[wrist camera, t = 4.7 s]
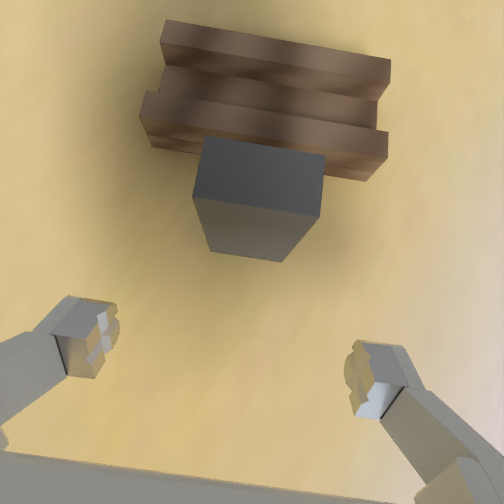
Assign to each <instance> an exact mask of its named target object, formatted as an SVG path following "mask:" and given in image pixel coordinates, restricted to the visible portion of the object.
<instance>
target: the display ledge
mask: <svg viewBox="0 0 504 504" xmlns="http://www.w3.org/2000/svg"><path fill="white" fill-rule="evenodd" d="M160 45H161V48H162V52H163V56H164V60H165V63H166V66H165V70H164V73H163V77H162V81H161V85H160V88H159V92H158V93H156V92H151V91H146V93H145V97H144V100H143V104H142V107H141V111H140V114H139V118H140V120H141V122H142V124H143V126H144V129H145V131H146V133H147V136H148V138H149V140H150V142H151V144H152V146H153V147H159V148H165V149H171V150H177V151H183V152H189V153H195V154H201V153H202V148H203V143H204V139H205V136H211V137H217V138H223V139H229V140H235V141H241V142H247V143H253V144H259V145H265V146H271V147H277V148H283V149H289V150H295V151H301V152H307V153H313V154H319V155H325V166H324V175H329V176H335V177H341V178H347V179H353V180H359V181H365V182H366V181H367V180H368V179H369V178H370V177H371V176H372V175H373V173H374V172H375V171H376V170H377V169H378V168H379V167H380V166H381V165H382V164H383V163H384V162H385V160H386V159H387V158H388V133H389V132H385V131H380V130H376V124H377V102H378V100H379V98H380V97H381V95H382V94H383V92H384V91H385V89H386V88H387V86H388V85H389V83H390V74H391V60H390V59H385V58H379V57H374V56H368V55H362V54H357V53H351V52H346V51H340V50H334V49H329V48H323V47H317V46H312V45H306V44H301V43H295V42H289V41H284V40H278V39H272V38H267V37H261V36H256V35H250V34H244V33H239V32H233V31H228V30H222V29H216V28H211V27H205V26H199V25H194V24H188V23H183V22H177V21H171V20H166V21H165V25H164V28H163V32H162V35H161V39H160Z"/></svg>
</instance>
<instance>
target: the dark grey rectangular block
mask: <svg viewBox="0 0 504 504" xmlns="http://www.w3.org/2000/svg"><path fill="white" fill-rule="evenodd" d="M324 166H325V155H319V154H313V153H307V152H301V151H295V150H289V149H283V148H277V147H271V146H265V145H259V144H253V143H247V142H241V141H235V140H229V139H223V138H217V137H211V136H205V139H204V143H203V148H202V153H201V158H200V162H199V167H198V172H197V177H196V182H195V186H194V191H193V196H192V197H193V200H194V203H195V206H196V209H197V212H198V215H199V218H200V221H201V224H202V227H203V230H204V233H205V236H206V239H207V242H208V245H209V248H210V251H212V252H218V253H225V254H231V255H237V256H244V257H250V258H257V259H263V260H270V261H276V262H282V261H283V260H284V259H285V257H286V256H287V255H288V254H289V253H290V252H291V250H292V249H293V248H294V247H295V246H296V244H297V243H298V242H299V241H300V240H301V239H302V237H303V236H304V235H305V234H306V233H307V232H308V230H309V229H310V228H311V227H312V226H313V224H314V223H315V222H316V221H317V220H318V219H319V217H320V209H321V198H322V187H323V176H324Z"/></svg>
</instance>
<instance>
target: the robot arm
mask: <svg viewBox="0 0 504 504" xmlns="http://www.w3.org/2000/svg"><path fill="white" fill-rule="evenodd" d="M117 312H118V309H117V304H115V303H111V302H105V301H100V300H94V299H88V298H81V297H75V296H70V295H69V296H67V297H64V298H63V299H62V300H61V301H60V302H59V303H58V304H57V305H56V306H55V308H54V309H53V310H52V311H51V312H50V313H49V314H48V315H47V316H46V317H45V318H44V319H43V320H42V321H41V322H40V323H39V324H38V325H37V326H36V327H35V328H34V329H33V330H32V331H31V332H24V333H22V334H19V335H17V336H15V337H13V338H10V339H8V340H6V341H4V342H2V343H0V504H395V503H387V502H380V501H373V500H365V499H358V498H350V497H343V496H336V495H328V494H321V493H313V492H306V491H299V490H291V489H284V488H276V487H269V486H262V485H254V484H247V483H239V482H232V481H225V480H217V479H210V478H202V477H195V476H188V475H180V474H173V473H165V472H158V471H151V470H143V469H136V468H128V467H121V466H113V465H106V464H99V463H91V462H84V461H76V460H69V459H61V458H54V457H47V456H39V455H32V454H24V453H17V452H9V451H4V450H5V448H6V447H7V445H8V444H9V442H8V437H7V436H6V434H5V432H4V431H3V429H2V427H1V425H2V424H4V423H5V422H6V421H8V420H9V419H10V418H12V417H13V416H15V415H16V414H17V413H19V412H20V411H21V410H23V409H24V408H26V407H27V406H28V405H30V404H31V403H32V402H34V401H35V400H37V399H38V398H39V397H41V396H42V395H43V394H45V393H46V392H47V391H49V390H50V389H52V388H53V387H54V386H56V385H57V384H58V383H60V382H61V381H63V380H64V379H65V378H67V376H73V377H82V378H91V379H95V377H96V376H97V374H98V372H99V371H100V369H101V367H102V366H103V364H104V362H105V355H104V354H105V353H107V352H109V351H110V350H112V349H113V347H114V345H115V344H116V342H117V339H118V335H119V330H120V324H119V321H118V320H117V319H116V317H115V315H116V314H117ZM352 349H353V353H351V354H350V355H348V356H347V358H346V361H345V365H344V377H345V382H346V384H347V385H348V386H349V388H350V389H351V390H352V392H351V393H350V395H349V398H350V402H351V406H352V410H353V414H354V416H357V417H362V418H368V419H374V420H380V423H381V424H382V426H383V427H384V428H385V430H386V431H387V432H388V434H389V435H390V436H391V438H392V439H393V440H394V442H395V443H396V444H397V446H398V447H399V448H400V450H401V451H402V453H403V454H404V455H405V457H406V458H407V459H408V461H409V462H410V463H411V465H412V466H413V467H414V469H415V470H416V471H417V473H418V474H419V475H420V477H421V478H422V479H423V481H424V482H425V483H426V486H424V487H423V488H422V489H421V490H420V491H419V492H418V493H417V494H416V495H415V497H414V500H415V503H416V504H504V456H503V455H502V454H501V453H500V452H499V451H497V450H496V449H495V448H494V447H493V446H492V445H491V444H490V443H488V442H487V441H486V440H485V439H484V438H483V437H482V436H481V435H479V434H478V433H477V432H476V431H475V430H474V429H473V428H472V427H471V426H469V425H468V424H467V423H466V422H465V421H464V420H463V419H462V418H460V417H459V416H458V415H457V414H456V413H455V412H454V411H453V410H451V409H450V408H449V407H448V406H447V405H446V404H445V403H444V402H443V401H441V400H440V399H439V398H438V397H437V396H436V395H435V394H434V393H432V392H431V391H428V390H426V389H425V387H424V385H423V383H422V381H421V379H420V377H419V375H418V373H417V371H416V369H415V367H414V365H413V363H412V361H411V359H410V357H409V356H408V354H407V352H406V350H405V348H404V347H403V346H400V345H393V344H385V343H379V342H372V341H365V340H356V341H355V342H354V344H353V346H352Z"/></svg>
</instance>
